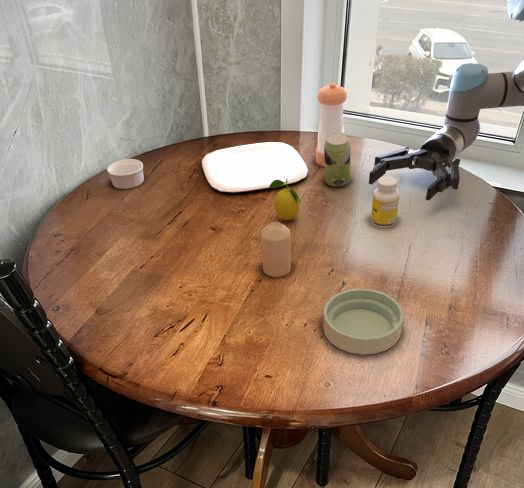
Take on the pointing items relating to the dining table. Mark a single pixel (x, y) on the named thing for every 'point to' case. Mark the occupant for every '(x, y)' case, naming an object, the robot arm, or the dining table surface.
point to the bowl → (362, 321)
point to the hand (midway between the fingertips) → (398, 186)
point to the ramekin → (126, 173)
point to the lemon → (286, 201)
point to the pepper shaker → (329, 116)
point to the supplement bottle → (385, 202)
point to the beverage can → (337, 159)
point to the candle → (276, 249)
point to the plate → (253, 167)
